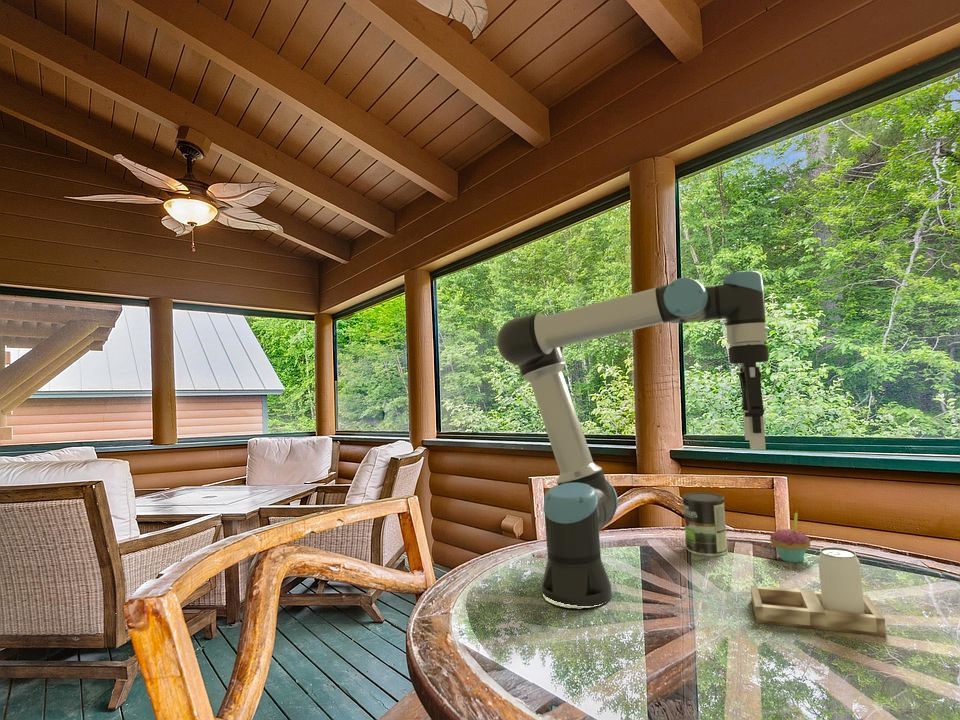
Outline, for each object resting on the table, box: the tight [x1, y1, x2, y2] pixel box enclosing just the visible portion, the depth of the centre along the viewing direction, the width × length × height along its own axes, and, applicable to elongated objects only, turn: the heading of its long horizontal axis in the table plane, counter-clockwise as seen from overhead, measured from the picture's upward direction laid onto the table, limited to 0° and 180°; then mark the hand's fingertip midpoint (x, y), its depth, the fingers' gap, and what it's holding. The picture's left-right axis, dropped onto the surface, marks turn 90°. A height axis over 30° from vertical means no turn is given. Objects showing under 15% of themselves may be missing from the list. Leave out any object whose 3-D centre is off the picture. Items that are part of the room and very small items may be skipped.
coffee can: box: [681, 491, 729, 557], centre depth 139 cm, size 10×10×14 cm
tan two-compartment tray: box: [749, 585, 887, 637], centre depth 99 cm, size 20×10×3 cm, turn 67°
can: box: [817, 546, 865, 614], centre depth 97 cm, size 6×6×12 cm
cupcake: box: [769, 510, 811, 563], centre depth 128 cm, size 9×8×12 cm
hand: (754, 444), depth 111 cm, fingers open, 13 cm apart
